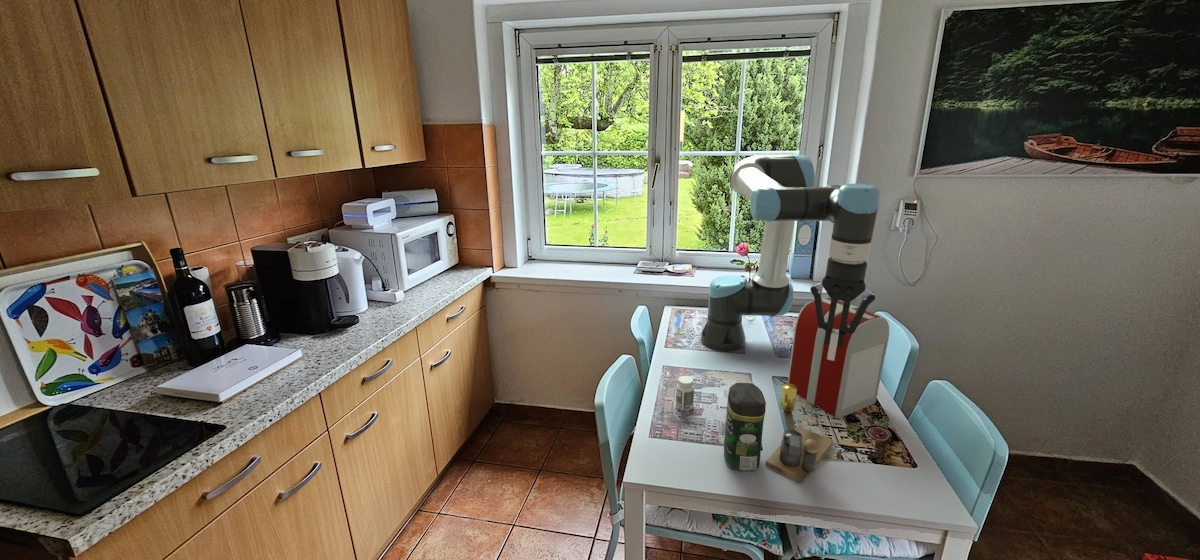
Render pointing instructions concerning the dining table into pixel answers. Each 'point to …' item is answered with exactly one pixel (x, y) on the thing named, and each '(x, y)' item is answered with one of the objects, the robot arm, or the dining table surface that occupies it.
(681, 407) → the pill bottle
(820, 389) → the red white arched box
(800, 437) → the lever
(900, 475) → the dining table surface
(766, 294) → the robot arm
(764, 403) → the coffee jar
